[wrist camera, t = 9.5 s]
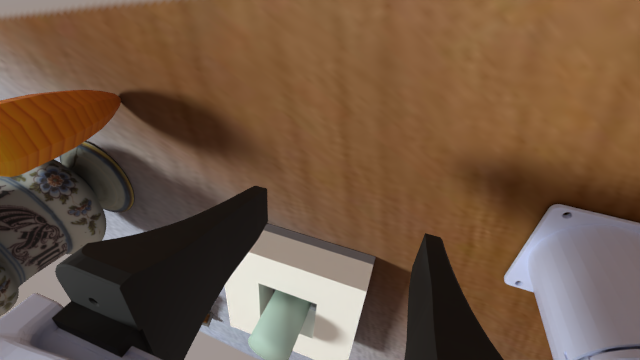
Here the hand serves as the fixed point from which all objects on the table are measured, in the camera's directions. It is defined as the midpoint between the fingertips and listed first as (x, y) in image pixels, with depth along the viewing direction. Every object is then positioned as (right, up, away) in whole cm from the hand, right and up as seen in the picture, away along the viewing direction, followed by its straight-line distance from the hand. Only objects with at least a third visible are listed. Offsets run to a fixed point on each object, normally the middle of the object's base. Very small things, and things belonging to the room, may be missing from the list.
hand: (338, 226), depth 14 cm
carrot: (-19, +10, +15) cm, 26 cm away
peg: (-3, -10, +19) cm, 22 cm away
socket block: (-3, -9, +20) cm, 22 cm away
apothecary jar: (-27, +2, +23) cm, 35 cm away
